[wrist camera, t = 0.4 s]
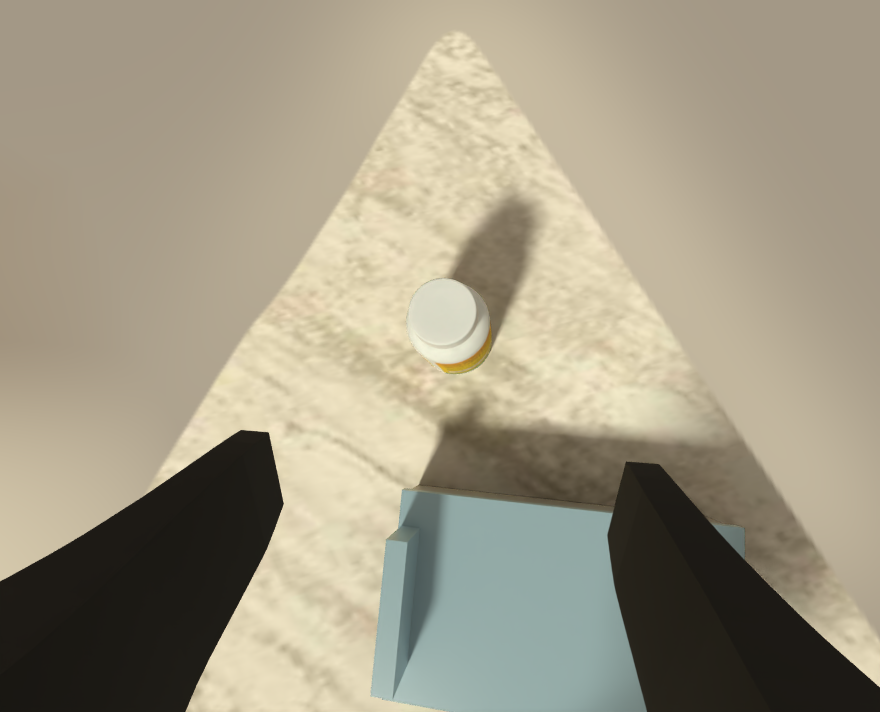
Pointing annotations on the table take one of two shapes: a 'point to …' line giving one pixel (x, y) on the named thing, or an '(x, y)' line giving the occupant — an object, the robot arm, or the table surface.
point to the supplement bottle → (449, 326)
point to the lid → (504, 608)
